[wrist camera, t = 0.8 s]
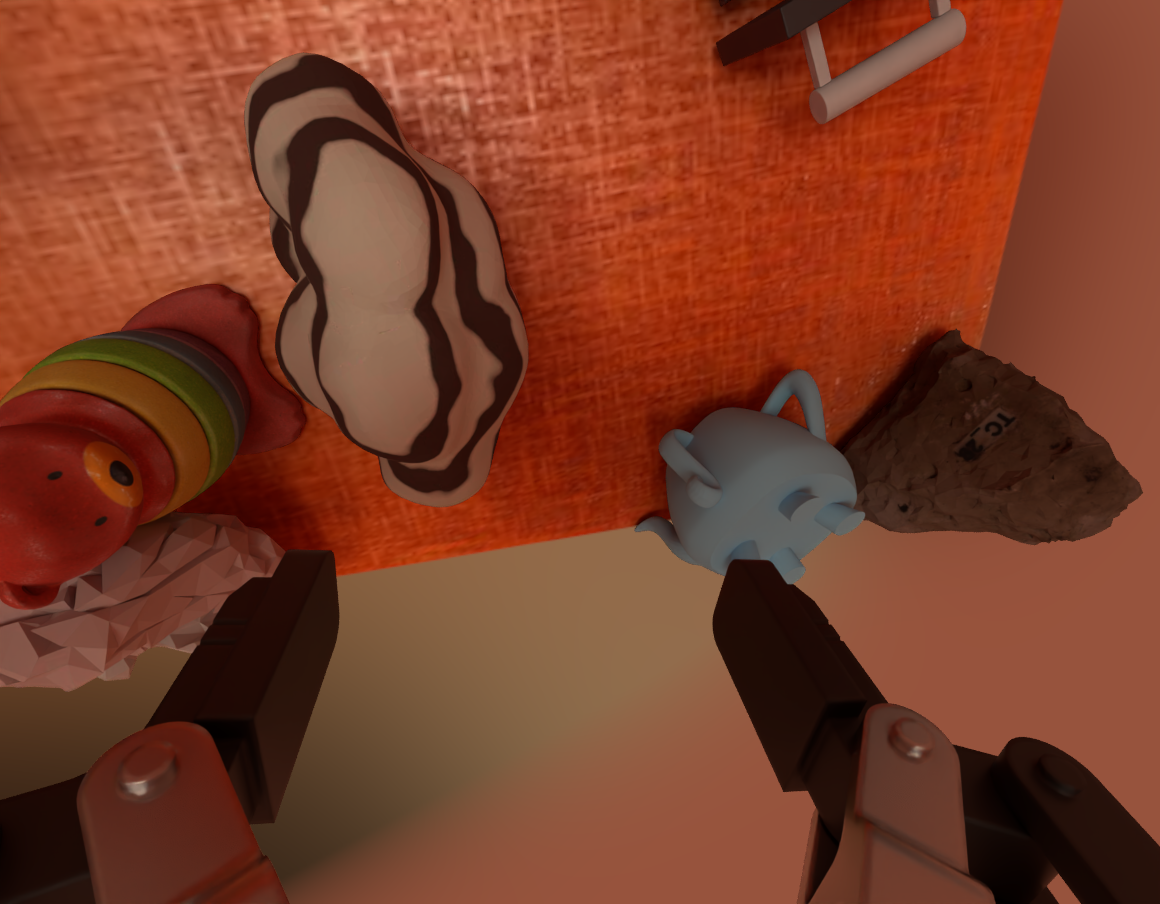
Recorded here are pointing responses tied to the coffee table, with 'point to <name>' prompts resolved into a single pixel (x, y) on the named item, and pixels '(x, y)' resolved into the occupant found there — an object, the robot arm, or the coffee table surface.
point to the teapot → (756, 485)
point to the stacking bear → (129, 434)
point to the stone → (984, 455)
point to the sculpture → (384, 281)
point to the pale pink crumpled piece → (135, 601)
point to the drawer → (865, 79)
